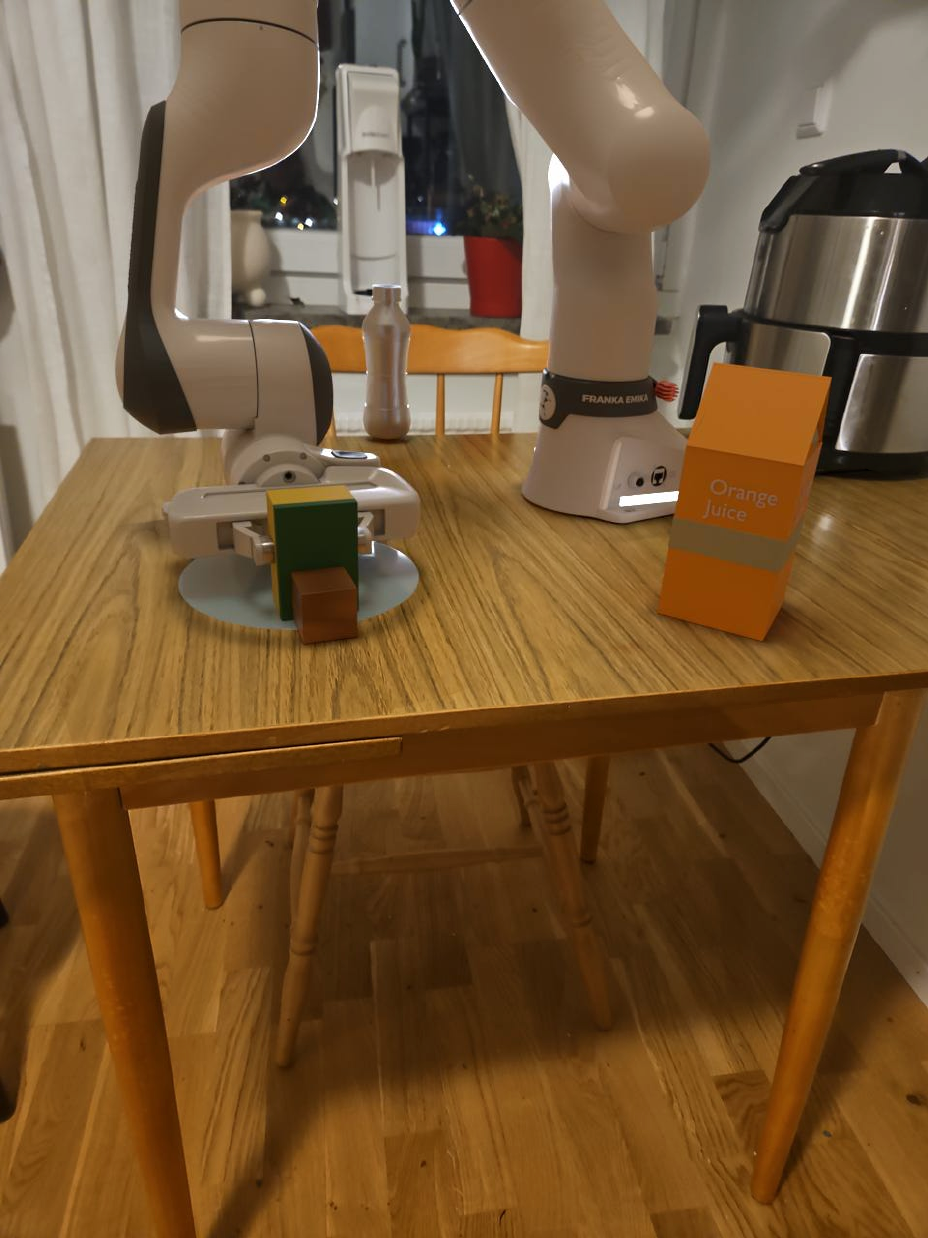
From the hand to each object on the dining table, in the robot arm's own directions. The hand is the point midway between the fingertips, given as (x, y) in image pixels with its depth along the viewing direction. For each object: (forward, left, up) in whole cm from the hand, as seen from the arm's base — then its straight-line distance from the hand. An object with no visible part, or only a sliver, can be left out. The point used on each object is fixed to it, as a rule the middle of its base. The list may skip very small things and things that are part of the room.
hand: (316, 550), depth 61 cm
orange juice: (-33, +7, -6) cm, 34 cm away
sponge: (0, -1, -5) cm, 5 cm away
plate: (0, -7, -6) cm, 9 cm away
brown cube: (0, +3, -5) cm, 6 cm away
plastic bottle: (-21, -53, -6) cm, 58 cm away
